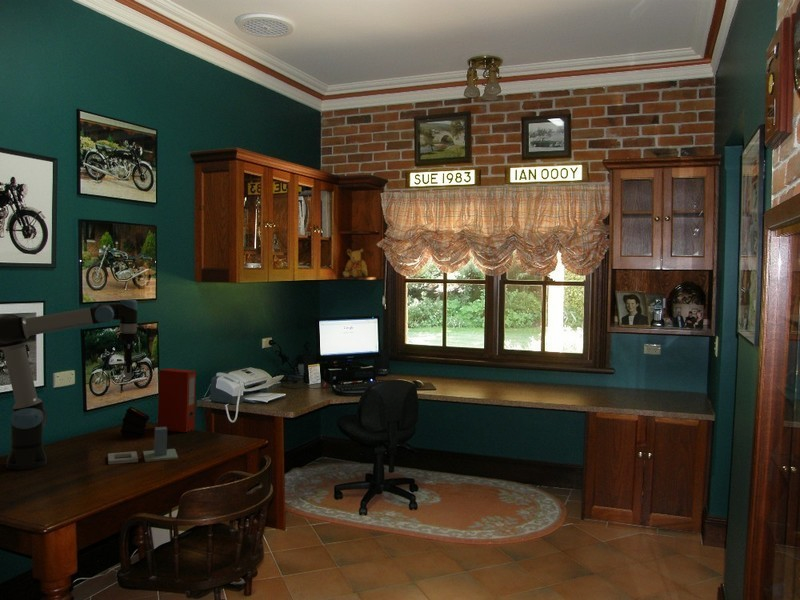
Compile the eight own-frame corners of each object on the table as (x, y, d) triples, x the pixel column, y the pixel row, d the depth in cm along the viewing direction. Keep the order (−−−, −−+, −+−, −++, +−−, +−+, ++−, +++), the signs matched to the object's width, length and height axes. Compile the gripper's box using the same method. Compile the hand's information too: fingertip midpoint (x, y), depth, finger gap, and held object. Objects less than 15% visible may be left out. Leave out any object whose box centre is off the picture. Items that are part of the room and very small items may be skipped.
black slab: (117, 431, 330) (130, 406, 329) (140, 443, 330) (153, 418, 329) (114, 433, 326) (127, 407, 325) (137, 445, 326) (150, 419, 325)
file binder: (166, 426, 351) (168, 368, 350) (194, 429, 347) (196, 370, 345) (157, 429, 343) (158, 370, 342) (185, 432, 339) (187, 372, 337)
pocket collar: (108, 464, 282) (108, 461, 282) (108, 456, 293) (108, 453, 293) (137, 461, 287) (137, 458, 287) (136, 454, 298) (136, 451, 298)
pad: (145, 461, 288) (145, 459, 288) (143, 453, 300) (143, 451, 300) (178, 459, 294) (178, 456, 294) (174, 450, 306) (174, 448, 306)
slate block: (155, 455, 294) (155, 430, 293) (154, 452, 298) (154, 427, 298) (166, 455, 296) (167, 429, 295) (165, 452, 300) (166, 426, 300)
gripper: (138, 335, 293) (137, 381, 294) (135, 329, 315) (134, 372, 316) (120, 335, 290) (119, 382, 291) (118, 329, 312) (118, 373, 313)
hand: (127, 377), depth 303 cm, fingers open, 13 cm apart
